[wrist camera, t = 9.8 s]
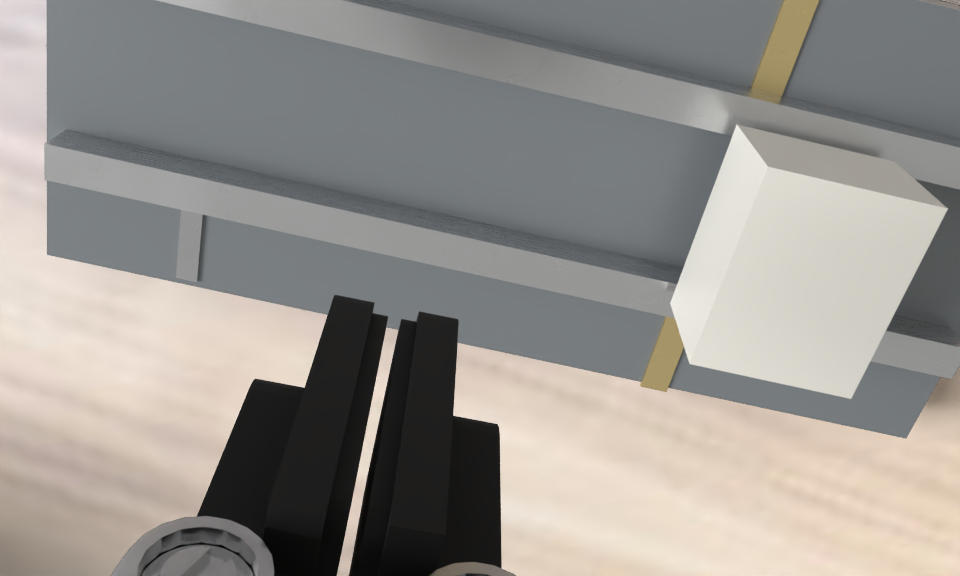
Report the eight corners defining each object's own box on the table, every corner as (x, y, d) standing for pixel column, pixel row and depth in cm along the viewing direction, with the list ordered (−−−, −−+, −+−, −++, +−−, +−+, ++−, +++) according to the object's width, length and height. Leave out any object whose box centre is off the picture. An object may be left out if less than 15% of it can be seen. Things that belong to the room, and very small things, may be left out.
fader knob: (725, 109, 22) (768, 166, 19) (875, 144, 23) (947, 208, 19) (663, 281, 25) (689, 363, 21) (800, 311, 25) (851, 398, 21)
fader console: (85, -219, 22) (19, -226, 19) (1078, 31, 23) (1155, 58, 21) (78, 229, 27) (26, 276, 24) (880, 403, 29) (920, 466, 26)
